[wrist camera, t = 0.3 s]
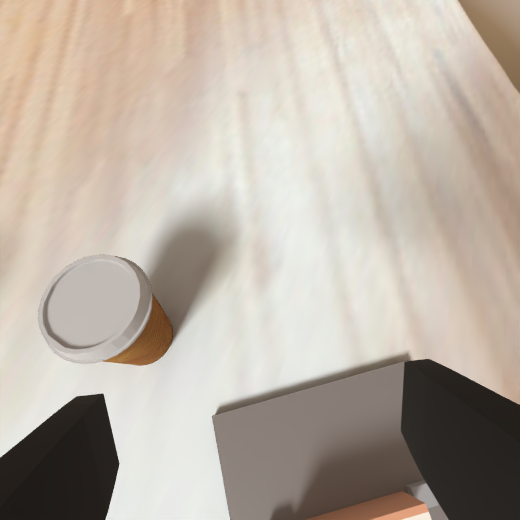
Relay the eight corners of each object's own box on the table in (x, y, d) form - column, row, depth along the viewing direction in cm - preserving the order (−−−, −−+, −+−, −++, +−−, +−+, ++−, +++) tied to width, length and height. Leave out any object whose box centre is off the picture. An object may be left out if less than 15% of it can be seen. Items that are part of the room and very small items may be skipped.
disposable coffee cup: (196, 303, 41) (161, 256, 30) (172, 389, 37) (121, 371, 26) (121, 291, 42) (62, 243, 32) (90, 372, 38) (10, 349, 28)
